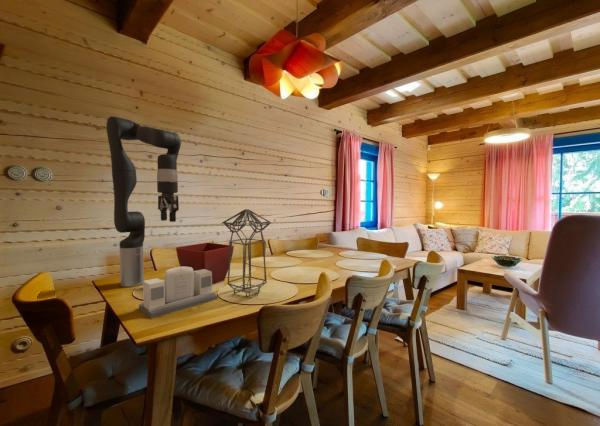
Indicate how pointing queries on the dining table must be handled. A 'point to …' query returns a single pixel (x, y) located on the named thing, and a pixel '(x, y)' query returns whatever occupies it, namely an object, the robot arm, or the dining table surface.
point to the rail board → (178, 305)
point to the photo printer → (179, 284)
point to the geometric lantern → (241, 215)
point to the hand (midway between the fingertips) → (168, 221)
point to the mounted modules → (156, 288)
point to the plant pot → (206, 258)
